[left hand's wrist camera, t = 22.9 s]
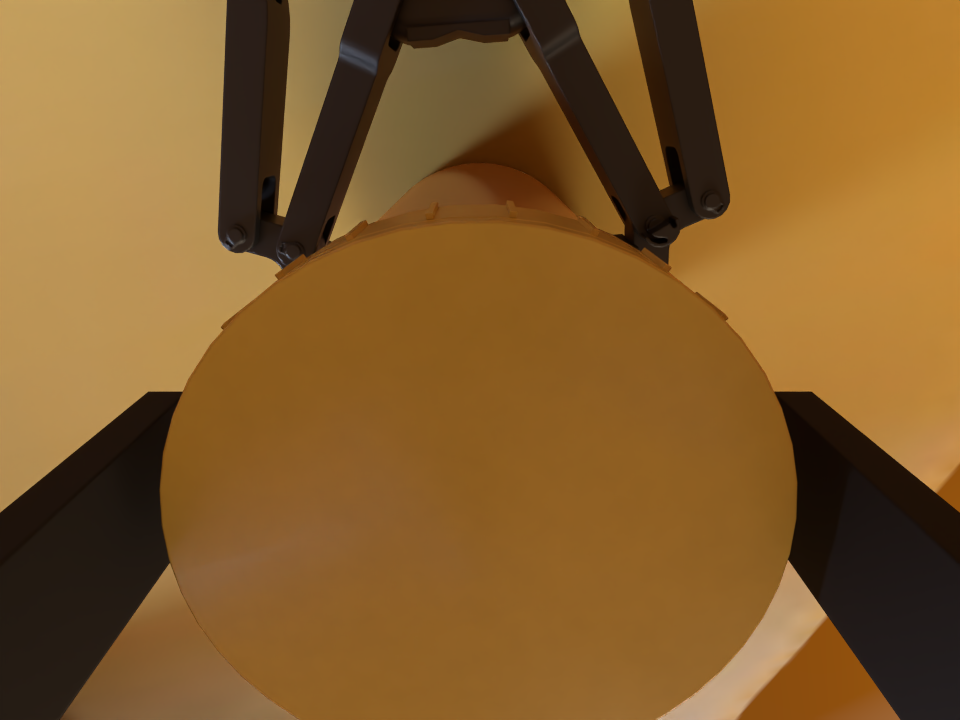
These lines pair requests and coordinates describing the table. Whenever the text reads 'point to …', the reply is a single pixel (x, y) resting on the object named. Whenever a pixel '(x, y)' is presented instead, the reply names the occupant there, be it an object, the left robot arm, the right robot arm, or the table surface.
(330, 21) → the table surface
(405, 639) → the lid
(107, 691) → the table surface
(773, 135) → the table surface
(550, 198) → the jar
